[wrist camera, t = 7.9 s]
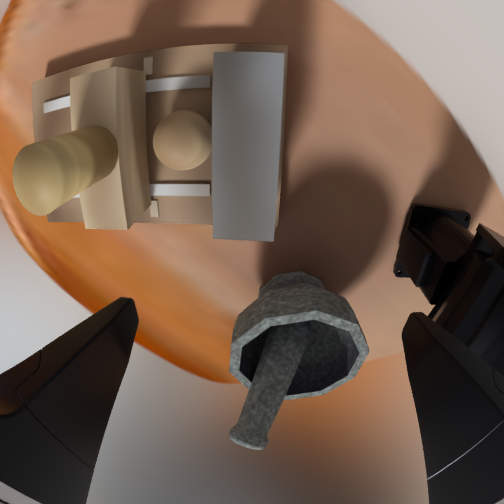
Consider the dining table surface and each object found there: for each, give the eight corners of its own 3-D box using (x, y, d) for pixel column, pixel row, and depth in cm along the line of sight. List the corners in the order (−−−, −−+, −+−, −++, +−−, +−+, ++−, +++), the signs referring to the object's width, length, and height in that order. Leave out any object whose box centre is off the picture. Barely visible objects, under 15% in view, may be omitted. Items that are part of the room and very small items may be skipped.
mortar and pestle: (296, 228, 21) (322, 358, 11) (368, 295, 24) (412, 411, 13) (205, 312, 25) (177, 432, 15) (278, 359, 28) (281, 466, 18)
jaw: (145, 71, 14) (53, 60, 6) (151, 204, 19) (84, 280, 11) (105, 78, 14) (5, 82, 6) (113, 204, 19) (38, 274, 11)
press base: (286, 49, 15) (297, 24, 9) (276, 218, 21) (281, 267, 15) (43, 81, 15) (-13, 88, 10) (57, 214, 21) (12, 250, 15)
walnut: (219, 108, 16) (208, 110, 13) (218, 163, 17) (208, 177, 14) (163, 110, 16) (141, 114, 13) (165, 163, 17) (145, 177, 14)
